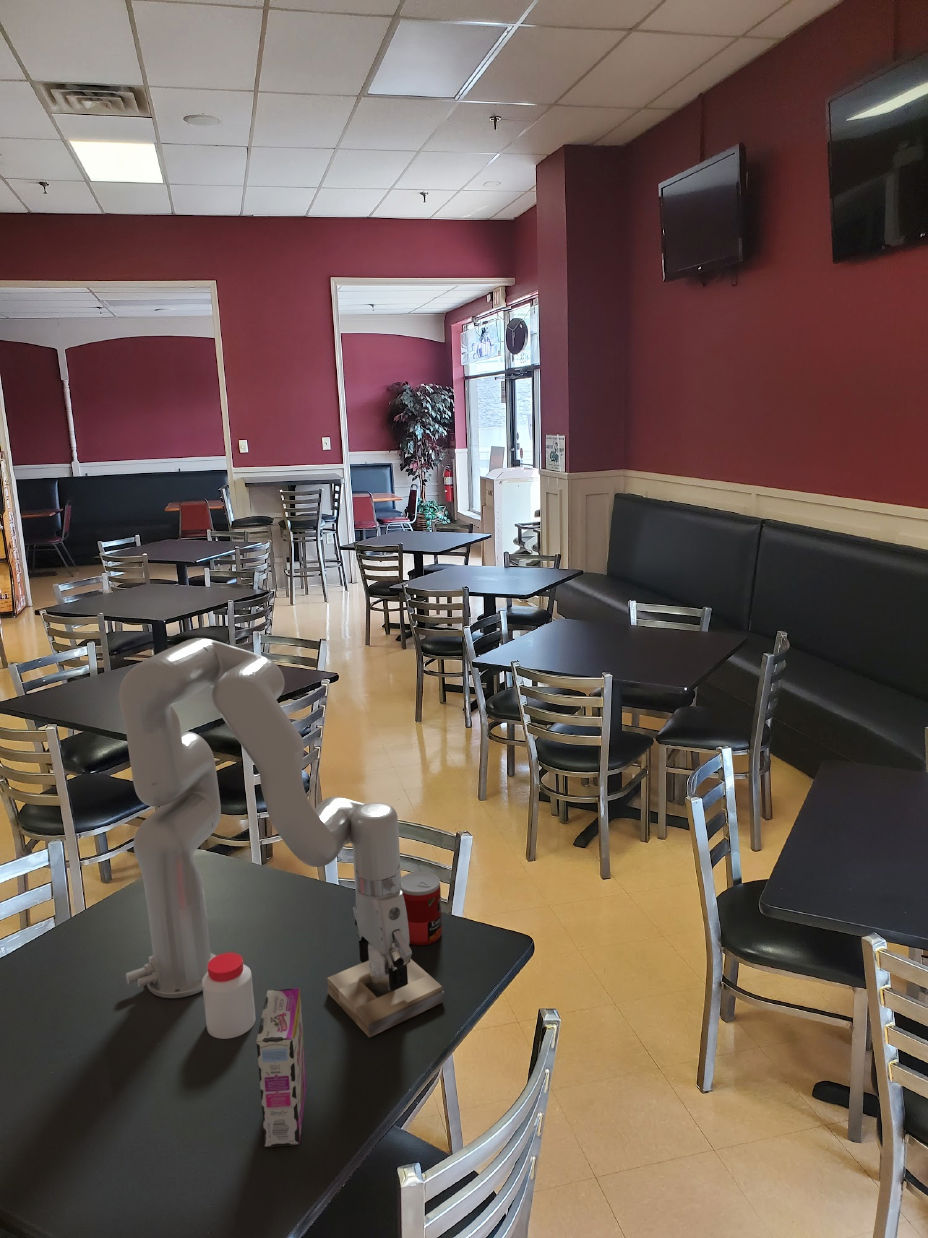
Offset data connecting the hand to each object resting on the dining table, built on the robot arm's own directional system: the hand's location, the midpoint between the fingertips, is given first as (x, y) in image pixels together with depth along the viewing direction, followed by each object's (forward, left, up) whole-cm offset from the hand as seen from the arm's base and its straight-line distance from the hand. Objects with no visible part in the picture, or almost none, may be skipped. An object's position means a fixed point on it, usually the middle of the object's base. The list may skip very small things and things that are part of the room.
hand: (383, 973), depth 147 cm
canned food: (+15, +12, -5) cm, 20 cm away
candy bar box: (-24, -14, -5) cm, 28 cm away
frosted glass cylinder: (0, 0, -5) cm, 5 cm away
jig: (0, 0, -5) cm, 5 cm away
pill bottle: (-23, +10, -5) cm, 26 cm away
